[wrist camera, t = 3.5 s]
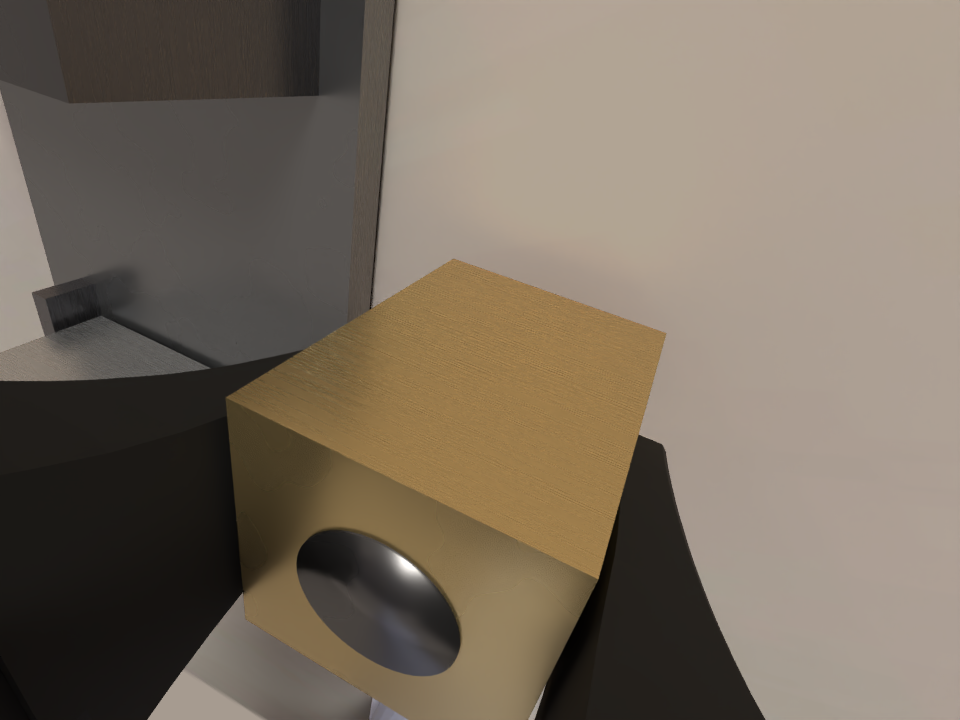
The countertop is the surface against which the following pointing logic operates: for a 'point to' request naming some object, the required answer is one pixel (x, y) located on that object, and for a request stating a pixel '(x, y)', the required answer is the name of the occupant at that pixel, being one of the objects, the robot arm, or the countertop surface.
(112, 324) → the block
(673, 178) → the countertop surface
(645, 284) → the countertop surface
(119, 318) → the press bed
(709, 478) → the countertop surface
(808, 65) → the countertop surface
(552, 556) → the housing
